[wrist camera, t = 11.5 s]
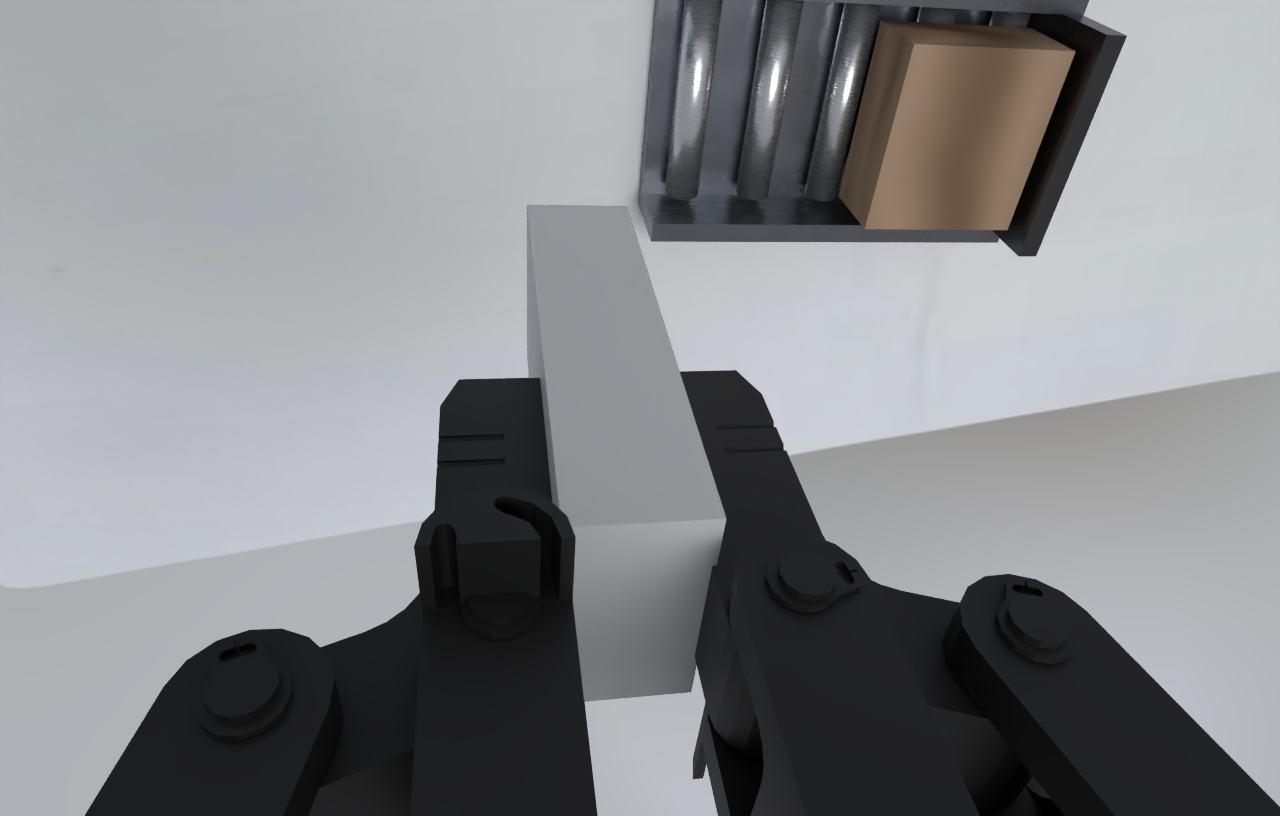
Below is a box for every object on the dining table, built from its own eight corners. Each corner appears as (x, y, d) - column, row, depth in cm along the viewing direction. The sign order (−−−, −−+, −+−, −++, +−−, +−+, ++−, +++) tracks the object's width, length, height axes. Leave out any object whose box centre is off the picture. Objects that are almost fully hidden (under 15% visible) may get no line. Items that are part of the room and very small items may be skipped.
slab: (838, 196, 46) (864, 229, 43) (880, 20, 40) (914, 43, 37) (972, 197, 47) (1007, 230, 44) (1031, 27, 42) (1075, 51, 39)
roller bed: (638, 204, 48) (662, 274, 42) (660, -52, 40) (693, -13, 34) (962, 208, 51) (1028, 273, 45) (1042, -28, 43) (1136, 11, 37)
